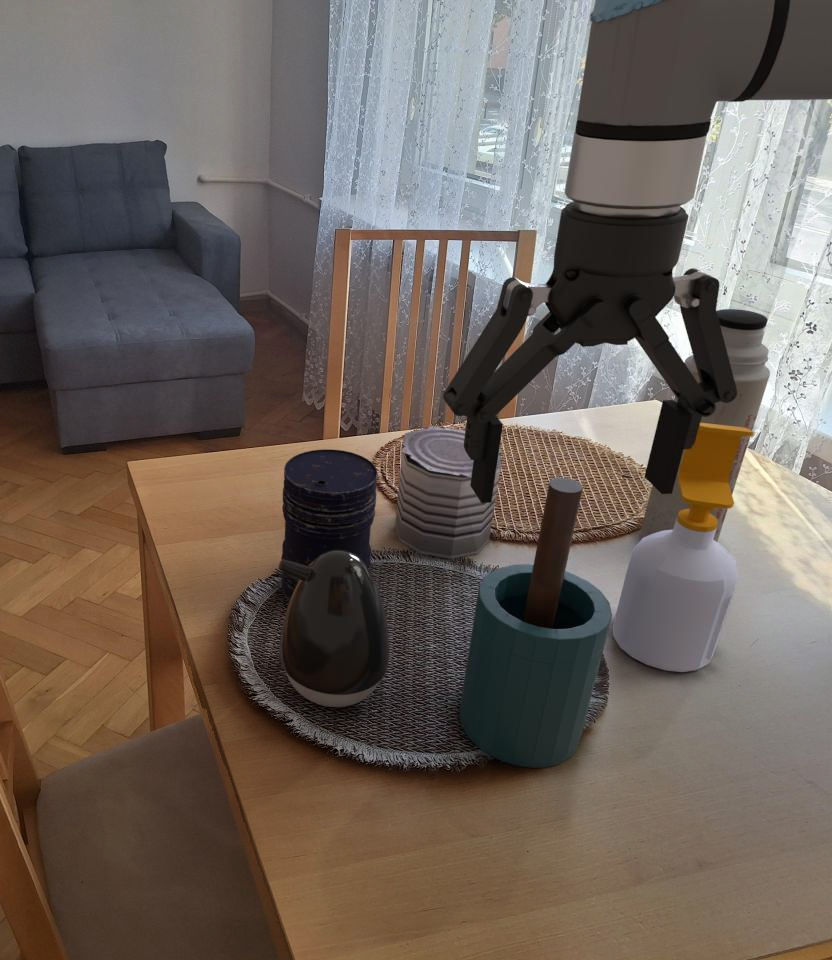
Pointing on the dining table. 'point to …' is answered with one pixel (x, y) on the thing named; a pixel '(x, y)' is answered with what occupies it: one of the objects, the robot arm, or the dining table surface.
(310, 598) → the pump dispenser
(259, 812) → the dining table surface
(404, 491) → the can
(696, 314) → the robot arm
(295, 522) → the storage jar
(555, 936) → the dining table surface
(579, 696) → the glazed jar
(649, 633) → the soap bottle
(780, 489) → the dining table surface
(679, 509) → the thermos bottle
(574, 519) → the round mallet
